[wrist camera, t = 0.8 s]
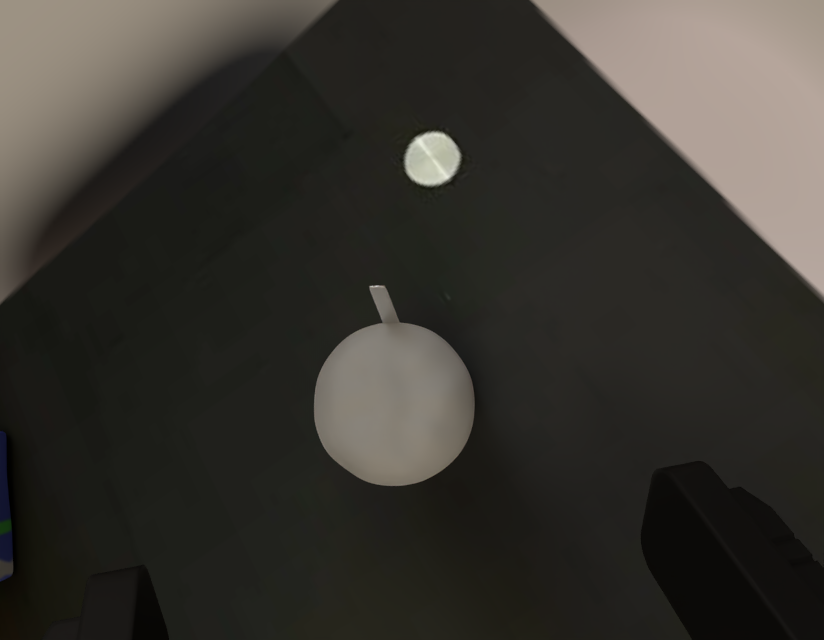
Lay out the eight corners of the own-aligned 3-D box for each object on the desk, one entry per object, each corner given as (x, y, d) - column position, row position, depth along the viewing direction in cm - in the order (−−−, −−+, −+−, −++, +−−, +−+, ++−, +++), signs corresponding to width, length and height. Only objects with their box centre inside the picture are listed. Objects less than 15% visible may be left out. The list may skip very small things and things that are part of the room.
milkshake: (489, 314, 29) (466, 282, 19) (491, 455, 28) (469, 499, 18) (373, 316, 29) (292, 287, 19) (374, 454, 29) (291, 496, 19)
